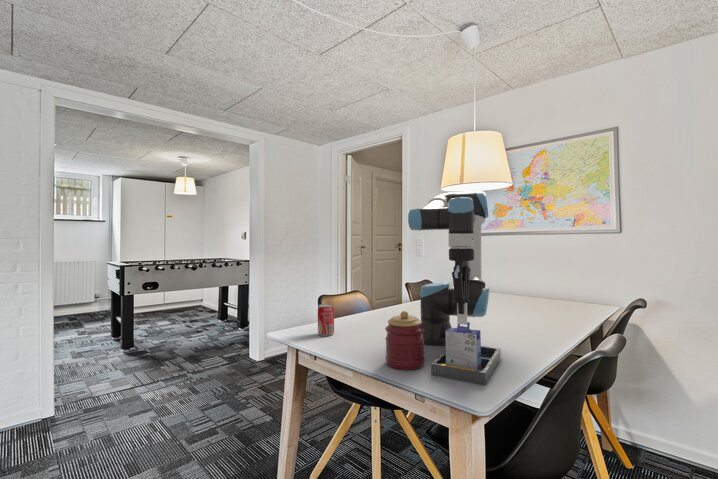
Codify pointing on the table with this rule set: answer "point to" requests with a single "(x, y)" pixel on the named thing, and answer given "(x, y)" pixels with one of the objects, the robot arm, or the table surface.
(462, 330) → the ink cartridge box
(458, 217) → the robot arm
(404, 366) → the canister
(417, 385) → the table surface
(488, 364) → the tray
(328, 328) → the soda can
